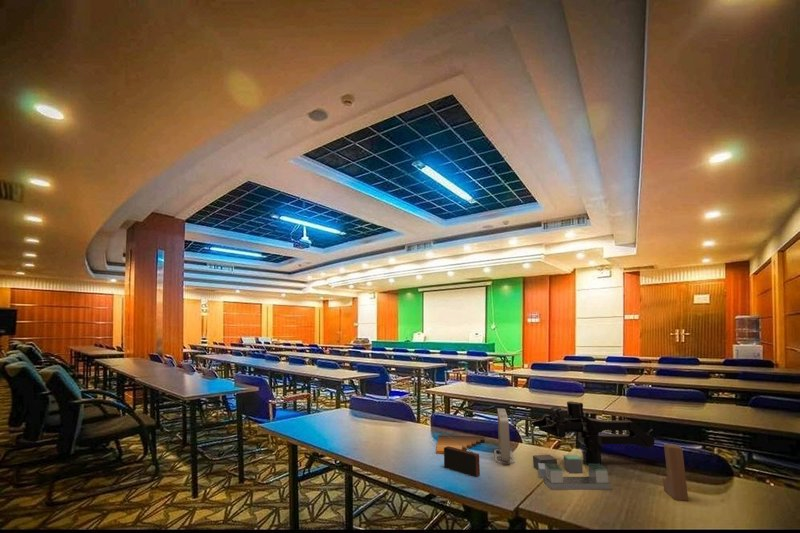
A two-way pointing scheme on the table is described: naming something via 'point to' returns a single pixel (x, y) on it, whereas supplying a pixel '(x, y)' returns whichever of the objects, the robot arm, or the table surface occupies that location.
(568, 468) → the block
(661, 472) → the table surface
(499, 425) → the network device
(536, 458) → the loose grey block
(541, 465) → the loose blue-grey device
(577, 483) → the rail
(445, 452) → the radio
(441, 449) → the pan flute
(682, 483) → the wooden block
